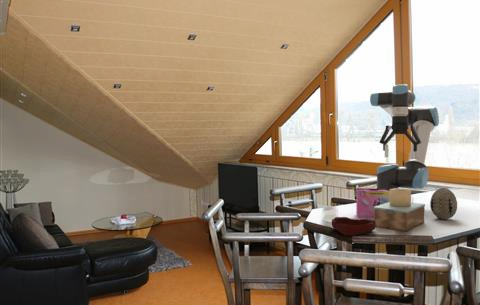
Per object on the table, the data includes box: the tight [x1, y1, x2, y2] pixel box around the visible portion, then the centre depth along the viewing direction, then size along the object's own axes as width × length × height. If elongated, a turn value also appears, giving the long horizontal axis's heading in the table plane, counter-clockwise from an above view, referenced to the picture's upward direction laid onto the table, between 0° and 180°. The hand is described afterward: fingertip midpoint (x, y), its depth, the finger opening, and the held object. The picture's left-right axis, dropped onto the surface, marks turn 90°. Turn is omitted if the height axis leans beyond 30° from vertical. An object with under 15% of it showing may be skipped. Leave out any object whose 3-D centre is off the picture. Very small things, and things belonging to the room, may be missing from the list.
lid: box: [373, 202, 426, 214], centre depth 191 cm, size 15×23×2 cm, turn 138°
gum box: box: [355, 187, 390, 219], centre depth 211 cm, size 24×8×14 cm, turn 79°
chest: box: [374, 206, 425, 233], centre depth 191 cm, size 14×22×8 cm, turn 139°
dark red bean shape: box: [331, 216, 377, 237], centre depth 178 cm, size 18×16×5 cm
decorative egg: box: [429, 187, 458, 220], centre depth 203 cm, size 12×12×15 cm
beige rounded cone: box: [390, 188, 412, 207], centre depth 191 cm, size 9×9×7 cm
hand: (399, 157), depth 215 cm, fingers open, 13 cm apart
